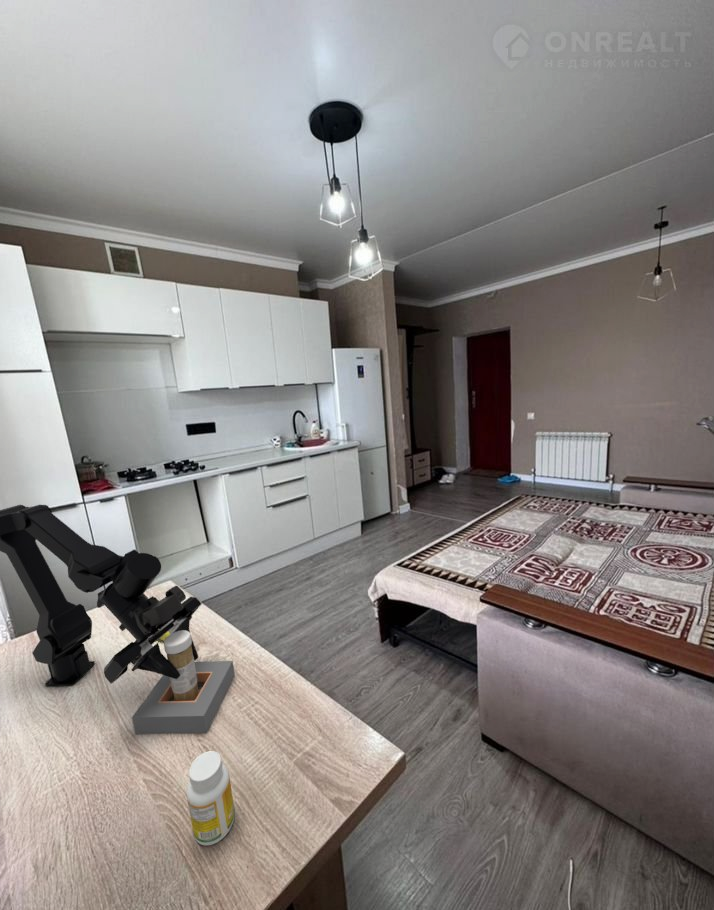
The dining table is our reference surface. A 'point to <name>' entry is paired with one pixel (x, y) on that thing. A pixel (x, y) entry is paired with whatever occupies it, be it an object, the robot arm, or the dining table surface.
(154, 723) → the collar block
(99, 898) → the dining table surface
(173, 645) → the sprinkles bottle
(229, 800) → the supplement bottle
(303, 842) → the dining table surface
